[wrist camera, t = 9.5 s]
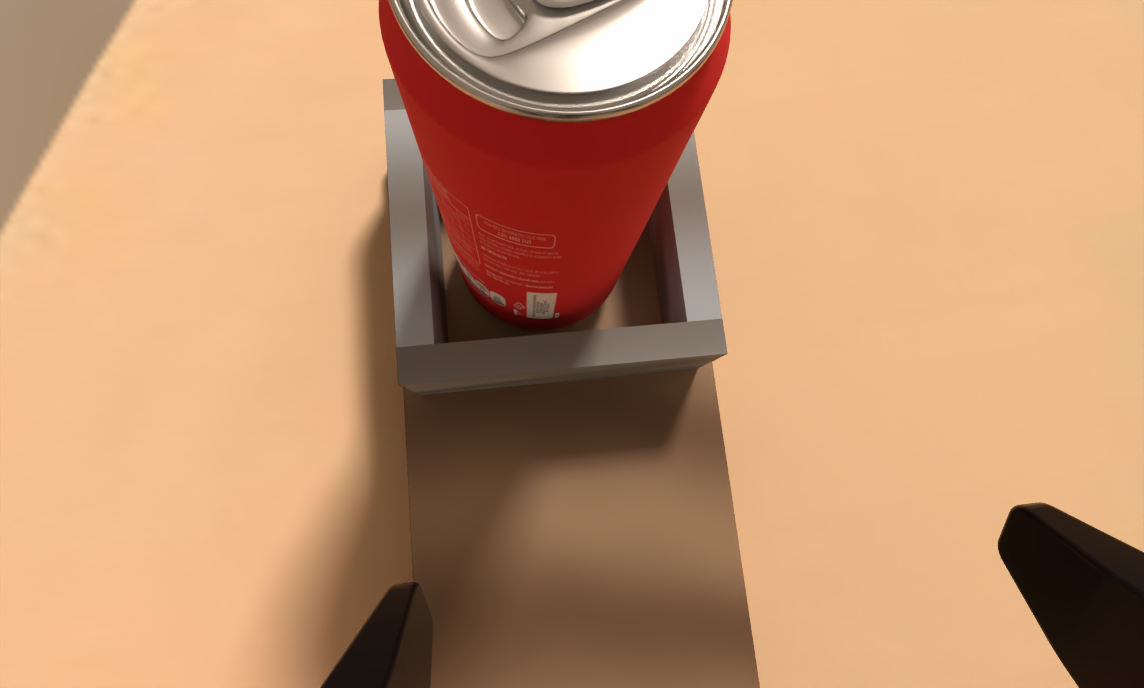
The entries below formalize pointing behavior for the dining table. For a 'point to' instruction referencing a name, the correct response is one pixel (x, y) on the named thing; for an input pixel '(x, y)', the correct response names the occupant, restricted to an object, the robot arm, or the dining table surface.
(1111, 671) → the robot arm
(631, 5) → the beverage can
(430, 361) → the socket board
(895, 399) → the dining table surface
